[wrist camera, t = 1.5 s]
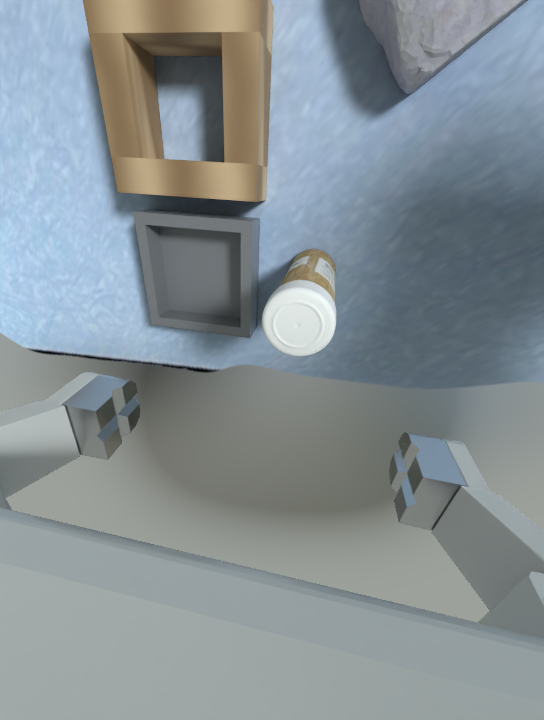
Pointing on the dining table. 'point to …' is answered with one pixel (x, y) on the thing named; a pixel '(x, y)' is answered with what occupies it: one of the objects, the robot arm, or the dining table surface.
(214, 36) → the oak bore block
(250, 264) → the tray
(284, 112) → the dining table surface
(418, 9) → the stone block
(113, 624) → the robot arm
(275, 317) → the sprinkles bottle
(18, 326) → the dining table surface
